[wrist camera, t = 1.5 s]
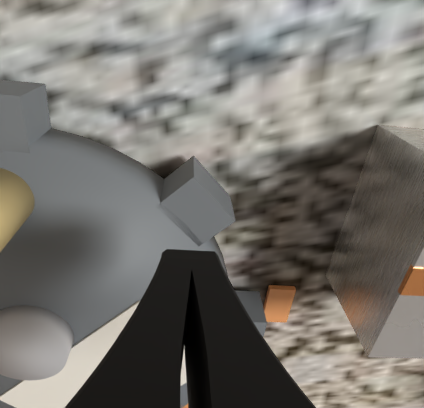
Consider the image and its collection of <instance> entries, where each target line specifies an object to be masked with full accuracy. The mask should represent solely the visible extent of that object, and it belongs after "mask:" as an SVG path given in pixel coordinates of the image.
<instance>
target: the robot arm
mask: <svg viewBox="0 0 424 408" xmlns="http://www.w3.org/2000/svg"><path fill="white" fill-rule="evenodd" d="M184 349H185V365H186V380H187V395H188V408H316V407H315V406H314V405H313V404H312V402H311V401H310V400H309V399H308V398H307V396H306V395H305V394H304V393H303V391H302V390H301V389H300V388H299V386H298V385H297V384H296V382H295V381H294V380H293V379H292V377H291V376H290V375H289V373H288V372H287V371H286V369H285V368H284V367H283V365H282V364H281V363H280V361H279V360H278V358H277V357H276V356H275V354H274V353H273V351H272V350H271V349H270V347H269V346H268V344H267V343H266V341H265V340H264V338H263V337H262V335H261V334H260V332H259V331H258V329H257V327H256V326H255V324H254V323H253V321H252V320H251V318H250V316H249V314H248V313H247V311H246V309H245V308H244V306H243V304H242V303H241V301H240V299H239V297H238V296H237V294H236V292H235V290H234V288H233V286H232V284H231V282H230V281H229V279H228V277H227V274H226V272H225V270H224V268H223V266H222V264H221V261H220V259H219V256H218V255H217V253H216V252H215V251H197V250H177V249H166V250H165V251H164V252H162V255H161V259H160V262H159V264H158V267H157V269H156V272H155V274H154V276H153V278H152V280H151V282H150V284H149V286H148V288H147V290H146V292H145V293H144V295H143V297H142V299H141V300H140V302H139V304H138V306H137V308H136V309H135V311H134V313H133V314H132V316H131V317H130V319H129V321H128V322H127V324H126V325H125V327H124V328H123V330H122V331H121V333H120V334H119V336H118V337H117V339H116V341H115V342H114V344H113V345H112V346H111V348H110V349H109V351H108V352H107V354H106V355H105V356H104V358H103V359H102V360H101V362H100V363H99V365H98V366H97V367H96V369H95V370H94V371H93V373H92V374H91V375H90V376H89V378H88V379H87V380H86V382H85V383H84V384H83V386H82V387H81V388H80V389H79V391H78V392H77V393H76V394H75V396H74V397H73V398H72V399H71V400H70V402H69V403H68V404H67V405H66V406H65V408H180V388H181V369H182V360H183V352H184Z"/></svg>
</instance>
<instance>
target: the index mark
mask: <svg viewBox="0 0 424 408" xmlns="http://www.w3.org/2000/svg"><path fill="white" fill-rule="evenodd" d="M295 292H296V289H295V286H278V285H269V286H268V290H267V294H266V298H265V302H264V306H263V309H264V313H265V317H266V321H267V322H287V319H288V315H289V312H290V309H291V305H292V302H293V299H294V295H295Z"/></svg>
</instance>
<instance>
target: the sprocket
mask: <svg viewBox="0 0 424 408" xmlns="http://www.w3.org/2000/svg"><path fill="white" fill-rule="evenodd" d="M233 222H235V217H234V212H233V208H232V203H231V198H230V196H229V194H228V193H227V192H226V191H225V190H224V189H223V188H222V187H221V186H220V184H219V183H218V182H217V181H216V180H215V179H214V178H213V177H212V176H211V175H210V173H209V172H208V171H207V170H206V169H205V168H204V167H203V166H202V165H201V163H200V162H199V161H198V160H197V159H196V158H195V157H194V156H193V157H191V158H190V159H189V160H188V161H186V162H185V163H184V164H183V165H181V166H180V167H179V168H177V169H176V170H175V171H174V172H172V173H171V174H170V175H169V176H167V177H166V178H165V179H163V178H162V177H160V176H159V175H158V174H156V173H155V172H153V171H152V170H150V169H149V168H147V167H146V166H144V165H143V164H142V163H140V162H138V161H136V160H134V159H132V158H130V157H129V156H127V155H125V154H123V153H121V152H119V151H117V150H115V149H113V148H111V147H108V146H106V145H103V144H101V143H98V142H95V141H93V140H90V139H88V138H85V137H83V136H79V135H75V134H71V133H67V132H64V131H60V130H56V129H52V128H51V124H50V116H49V109H48V101H47V93H46V86H45V84H40V83H29V82H19V81H8V80H0V408H65V406H66V405H67V404H68V403H69V402H70V400H71V399H72V398H73V397H74V396H75V394H76V393H77V392H78V391H79V389H80V388H81V387H82V386H83V384H84V383H85V382H86V380H87V379H88V378H89V376H90V375H91V374H92V373H93V371H94V370H95V369H96V367H97V366H98V365H99V363H100V362H101V360H102V359H103V358H104V356H105V355H106V354H107V352H108V351H109V349H110V348H111V346H112V345H113V344H114V342H115V341H116V339H117V337H118V336H119V334H120V333H121V331H122V330H123V328H124V327H125V325H126V324H127V322H128V321H129V319H130V317H131V316H132V314H133V313H134V311H135V309H136V308H137V306H138V304H139V302H140V300H141V299H142V297H143V295H144V293H145V292H146V290H147V288H148V286H149V284H150V282H151V280H152V278H153V276H154V274H155V272H156V269H157V267H158V264H159V262H160V259H161V255H162V252H164V251H165V250H166V249H177V250H197V251H215V252H216V253H217V255H218V256H219V259H220V261H221V264H222V266H223V268H224V270H225V272H226V274H227V270H226V267H225V263H224V259H223V255H222V253H221V251H220V248H219V246H218V244H217V242H216V239H215V237H214V236H215V235H216V234H218V233H219V232H220V231H222V230H223V229H225V228H226V227H228V226H229V225H231V224H232V223H233ZM227 277H228V275H227ZM235 292H236V294H237V296H238V297H239V299H240V301H241V303H242V304H243V306H244V308H245V309H246V311H247V313H248V314H249V316H250V318H251V320H252V321H253V323H254V324H255V326H256V327H257V329H258V331H259V332H260V334H261V335H262V337H263V336H264V332H265V328H266V325H267V321H266V317H265V313H264V309H263V305H262V300H261V296H260V292H259V291H235ZM180 408H188V395H187V380H186V365H185V349H184V352H183V360H182V369H181V388H180Z"/></svg>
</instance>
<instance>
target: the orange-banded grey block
mask: <svg viewBox="0 0 424 408" xmlns="http://www.w3.org/2000/svg"><path fill="white" fill-rule="evenodd" d="M326 277H327V278H328V280H329V282H330V284H331V286H332V288H333V290H334V292H335V294H336V296H337V298H338V300H339V302H340V304H341V306H342V308H343V309H344V311H345V313H346V315H347V317H348V319H349V321H350V323H351V325H352V327H353V329H354V331H355V333H356V335H357V337H358V339H359V340H360V342H361V344H362V346H363V348H364V350H365V352H366V354H367V356H368V357H383V358H424V129H419V128H408V127H397V126H387V125H378V126H377V129H376V132H375V134H374V137H373V140H372V143H371V146H370V149H369V152H368V154H367V157H366V160H365V163H364V166H363V169H362V172H361V175H360V177H359V180H358V183H357V186H356V189H355V192H354V195H353V197H352V200H351V203H350V206H349V209H348V212H347V215H346V218H345V220H344V223H343V226H342V229H341V232H340V235H339V238H338V240H337V243H336V246H335V249H334V252H333V255H332V258H331V261H330V263H329V266H328V269H327V272H326Z"/></svg>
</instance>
